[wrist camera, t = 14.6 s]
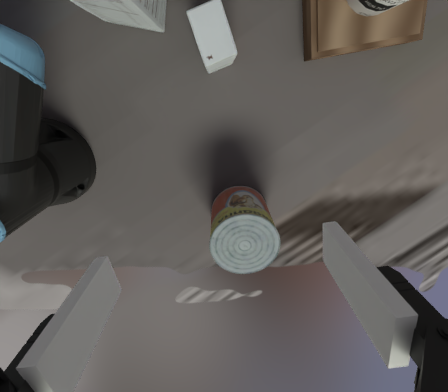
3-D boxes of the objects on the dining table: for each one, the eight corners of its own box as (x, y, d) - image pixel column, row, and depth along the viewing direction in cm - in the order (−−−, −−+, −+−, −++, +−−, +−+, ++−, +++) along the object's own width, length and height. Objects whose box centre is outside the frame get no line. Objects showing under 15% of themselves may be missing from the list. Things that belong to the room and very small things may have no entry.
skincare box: (233, 64, 40) (238, 55, 29) (208, 74, 41) (204, 69, 30) (219, 21, 38) (220, -6, 27) (193, 33, 39) (184, 11, 28)
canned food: (270, 186, 49) (285, 215, 38) (263, 236, 53) (275, 275, 42) (212, 184, 48) (210, 212, 37) (210, 234, 53) (208, 273, 42)
